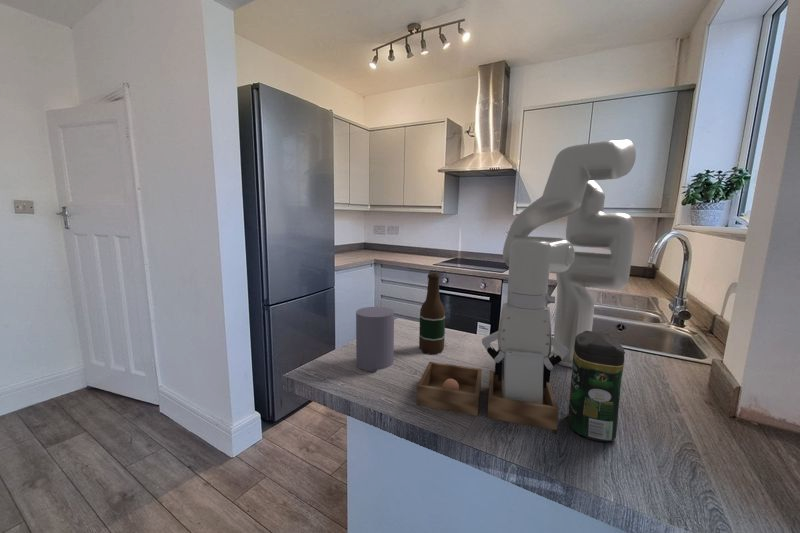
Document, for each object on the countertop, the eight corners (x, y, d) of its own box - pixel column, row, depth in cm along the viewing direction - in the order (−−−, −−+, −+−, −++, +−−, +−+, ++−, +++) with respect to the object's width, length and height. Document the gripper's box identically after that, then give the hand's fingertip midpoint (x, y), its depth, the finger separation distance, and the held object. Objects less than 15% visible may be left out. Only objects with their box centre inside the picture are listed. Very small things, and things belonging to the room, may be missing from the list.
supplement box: (543, 417, 63) (544, 356, 62) (504, 413, 65) (504, 353, 64) (536, 397, 71) (537, 342, 69) (501, 394, 72) (501, 340, 71)
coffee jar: (565, 409, 68) (573, 325, 66) (609, 419, 65) (619, 331, 63) (569, 436, 60) (578, 340, 57) (619, 449, 56) (631, 348, 54)
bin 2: (546, 399, 72) (548, 378, 71) (556, 434, 60) (558, 409, 60) (488, 390, 76) (489, 370, 75) (487, 421, 64) (488, 397, 63)
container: (368, 353, 96) (368, 305, 94) (399, 360, 91) (400, 309, 89) (348, 367, 87) (348, 313, 85) (382, 375, 82) (382, 319, 80)
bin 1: (480, 388, 76) (481, 369, 76) (477, 419, 64) (478, 396, 64) (428, 380, 80) (429, 361, 79) (416, 408, 68) (417, 386, 67)
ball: (459, 392, 73) (460, 377, 73) (457, 400, 70) (458, 384, 69) (443, 389, 74) (444, 374, 74) (441, 397, 71) (441, 382, 70)
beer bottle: (445, 355, 96) (448, 276, 92) (419, 354, 96) (421, 275, 92) (442, 345, 103) (445, 271, 100) (418, 344, 103) (420, 271, 100)
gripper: (570, 299, 66) (563, 379, 68) (483, 293, 71) (479, 367, 73) (578, 308, 59) (570, 397, 61) (481, 300, 64) (477, 383, 66)
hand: (521, 381), depth 67 cm, fingers open, 8 cm apart
